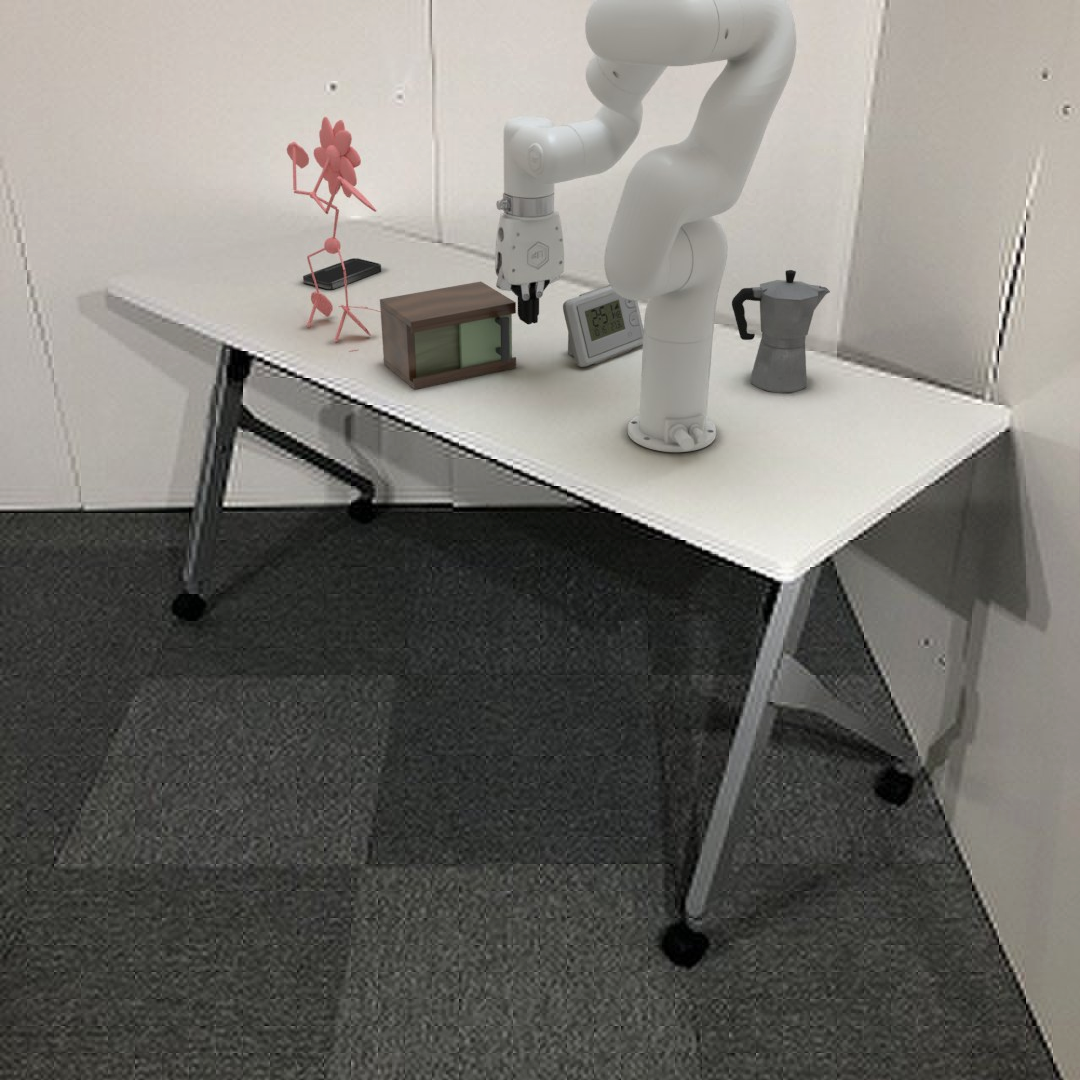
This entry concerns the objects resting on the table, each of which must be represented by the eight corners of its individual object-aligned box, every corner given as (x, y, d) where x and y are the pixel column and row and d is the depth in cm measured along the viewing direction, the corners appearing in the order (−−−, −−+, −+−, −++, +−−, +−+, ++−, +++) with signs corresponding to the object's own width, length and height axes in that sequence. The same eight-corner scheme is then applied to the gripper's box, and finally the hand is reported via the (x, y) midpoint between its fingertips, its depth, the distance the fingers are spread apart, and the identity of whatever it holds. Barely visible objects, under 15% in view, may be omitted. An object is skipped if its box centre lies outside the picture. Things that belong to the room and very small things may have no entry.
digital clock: (578, 372, 192) (579, 308, 186) (547, 354, 198) (547, 292, 193) (658, 351, 200) (661, 289, 194) (625, 335, 206) (627, 275, 201)
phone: (383, 264, 235) (329, 284, 225) (383, 270, 236) (330, 290, 225) (353, 257, 239) (299, 276, 229) (354, 262, 240) (300, 282, 229)
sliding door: (521, 366, 190) (521, 315, 186) (471, 377, 187) (470, 325, 182) (509, 357, 193) (509, 308, 189) (460, 368, 190) (458, 317, 185)
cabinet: (516, 367, 193) (515, 302, 188) (414, 389, 185) (411, 321, 180) (482, 344, 202) (480, 281, 196) (383, 364, 194) (379, 299, 189)
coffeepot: (806, 367, 194) (820, 258, 185) (829, 390, 186) (844, 277, 177) (715, 374, 191) (724, 263, 182) (734, 397, 183) (745, 283, 174)
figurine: (357, 358, 196) (340, 138, 179) (279, 316, 213) (257, 111, 196) (434, 337, 205) (425, 125, 187) (353, 298, 222) (338, 100, 204)
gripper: (496, 217, 173) (497, 337, 182) (584, 204, 179) (581, 320, 189) (473, 204, 179) (475, 321, 188) (559, 192, 185) (557, 306, 194)
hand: (528, 320), depth 188 cm, fingers closed
